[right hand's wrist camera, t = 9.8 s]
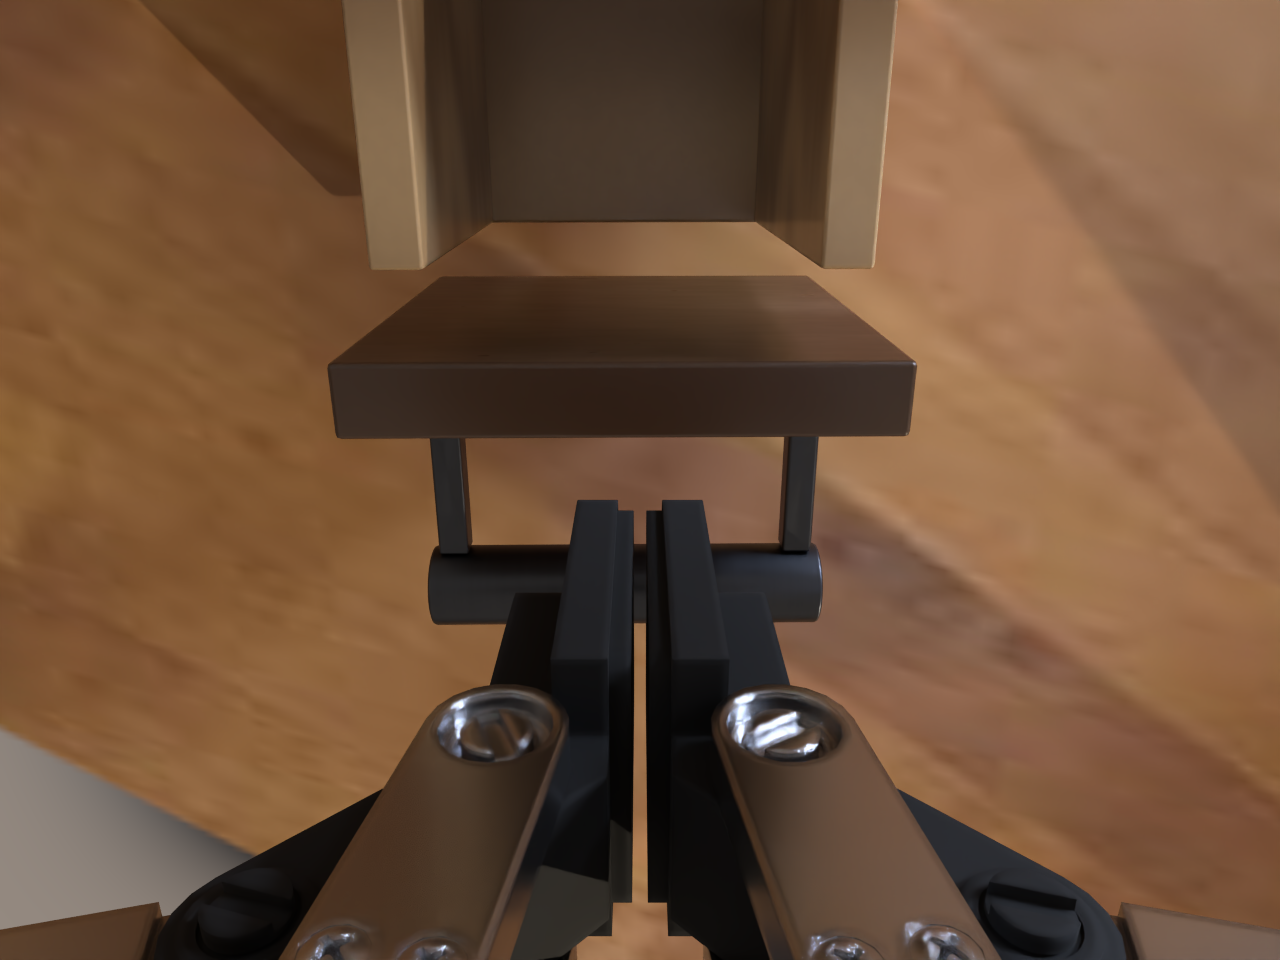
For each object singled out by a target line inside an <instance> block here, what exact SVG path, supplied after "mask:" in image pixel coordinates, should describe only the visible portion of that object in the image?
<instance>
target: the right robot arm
mask: <svg viewBox="0 0 1280 960" xmlns="http://www.w3.org/2000/svg"><path fill="white" fill-rule="evenodd" d="M633 758H634V511H618V500H578V501H577V505H576V511H575V517H574V523H573V529H572V535H571V541H570V547H569V553H568V559H567V564H566V570H565V576H564V582H563V588H562V593H515V595H514V598H513V601H512V605H511V609H510V613H509V616H508V620H507V624H506V627H505V631H504V635H503V638H502V642H501V646H500V649H499V653H498V657H497V661H496V664H495V668H494V672H493V675H492V679H491V683H490V685H489V686H483V687H478V688H473V689H470V690H467V691H465V692H462V693H459V694H457V695H454V696H452V697H451V698H449V699H448V700H446V701H445V702H443V703H441V704H440V705H438V706H437V707H436V708H435V709H434V710H433V712H432V713H431V714H430V715H429V716H428V717H427V718H426V720H425V721H424V723H423V725H422V726H421V728H420V730H419V731H418V733H417V735H416V736H415V738H414V739H413V741H412V743H411V744H410V746H409V748H408V749H407V751H406V752H405V754H404V756H403V757H402V759H401V761H400V762H399V764H398V766H397V767H396V769H395V770H394V772H393V774H392V775H391V777H390V779H389V780H388V782H387V783H386V785H385V787H384V788H383V789H381V790H379V791H377V792H376V793H374V794H372V795H370V796H368V797H366V798H364V799H362V800H361V801H359V802H357V803H355V804H353V805H351V806H349V807H347V808H346V809H344V810H342V811H340V812H338V813H336V814H334V815H332V816H331V817H329V818H327V819H325V820H323V821H321V822H319V823H317V824H316V825H314V826H312V827H310V828H308V829H306V830H304V831H302V832H301V833H299V834H297V835H295V836H293V837H291V838H289V839H287V840H286V841H284V842H282V843H280V844H278V845H276V846H274V847H272V848H271V849H269V850H267V851H265V852H263V853H261V854H259V855H257V856H256V857H254V858H252V859H250V860H248V861H246V862H244V863H242V864H241V865H239V866H237V867H235V868H233V869H231V870H229V871H227V872H226V873H224V874H222V875H220V876H218V877H216V878H215V879H213V880H212V881H210V882H209V883H207V884H206V885H204V886H202V887H201V888H199V889H198V890H196V891H195V892H194V893H192V894H191V895H190V896H189V897H188V898H187V899H186V900H185V901H184V902H183V903H182V904H181V905H180V906H179V907H178V908H177V909H176V910H175V911H174V912H173V913H172V914H171V915H168V916H162V914H161V910H160V905H159V902H156V903H151V904H145V905H139V906H133V907H128V908H122V909H117V910H111V911H105V912H99V913H93V914H88V915H82V916H76V917H71V918H65V919H59V920H53V921H48V922H42V923H36V924H31V925H25V926H19V927H13V928H8V929H2V930H0V960H577V944H578V943H580V942H581V941H582V940H583V939H585V938H586V937H587V936H612V915H613V903H632V854H633ZM646 758H647V854H648V903H667V915H668V936H693V937H694V938H695V939H697V940H698V941H699V942H700V943H702V944H703V960H1280V930H1278V929H1272V928H1267V927H1261V926H1255V925H1249V924H1244V923H1238V922H1232V921H1227V920H1221V919H1215V918H1209V917H1204V916H1198V915H1192V914H1187V913H1181V912H1175V911H1169V910H1164V909H1158V908H1152V907H1147V906H1141V905H1135V904H1129V903H1124V902H1121V905H1120V910H1119V914H1118V916H1112V915H1109V914H1108V913H1107V912H1106V911H1105V910H1104V909H1103V908H1102V907H1101V906H1100V905H1099V904H1098V903H1097V902H1096V901H1095V900H1094V899H1093V898H1092V897H1091V896H1090V895H1089V894H1088V893H1087V892H1085V891H1084V890H1082V889H1081V888H1079V887H1078V886H1076V885H1074V884H1073V883H1071V882H1070V881H1068V880H1067V879H1065V878H1064V877H1062V876H1060V875H1058V874H1056V873H1054V872H1053V871H1051V870H1049V869H1047V868H1045V867H1043V866H1041V865H1039V864H1038V863H1036V862H1034V861H1032V860H1030V859H1028V858H1026V857H1024V856H1023V855H1021V854H1019V853H1017V852H1015V851H1013V850H1011V849H1009V848H1008V847H1006V846H1004V845H1002V844H1000V843H998V842H996V841H994V840H993V839H991V838H989V837H987V836H985V835H983V834H981V833H979V832H978V831H976V830H974V829H972V828H970V827H968V826H966V825H964V824H963V823H961V822H959V821H957V820H955V819H953V818H951V817H949V816H948V815H946V814H944V813H942V812H940V811H938V810H936V809H934V808H933V807H931V806H929V805H927V804H925V803H923V802H921V801H919V800H918V799H916V798H914V797H912V796H910V795H908V794H906V793H904V792H903V791H901V790H899V789H897V788H896V787H895V785H894V783H893V782H892V780H891V779H890V777H889V775H888V774H887V772H886V770H885V769H884V767H883V766H882V764H881V762H880V761H879V759H878V757H877V756H876V754H875V752H874V751H873V749H872V748H871V746H870V744H869V743H868V741H867V739H866V738H865V736H864V735H863V733H862V731H861V730H860V728H859V726H858V725H857V723H856V721H855V720H854V718H853V717H852V716H851V715H850V714H849V713H848V712H847V711H846V709H845V708H844V707H843V706H842V705H840V704H839V703H837V702H835V701H834V700H832V699H831V698H829V697H828V696H826V695H823V694H821V693H818V692H815V691H813V690H810V689H807V688H802V687H797V686H791V685H790V683H789V679H788V675H787V672H786V668H785V664H784V661H783V657H782V653H781V649H780V646H779V642H778V638H777V635H776V631H775V627H774V624H773V620H772V616H771V613H770V609H769V605H768V601H767V598H766V595H765V593H718V588H717V582H716V576H715V570H714V564H713V559H712V553H711V547H710V541H709V535H708V529H707V523H706V517H705V511H704V505H703V501H702V500H662V511H646Z"/></svg>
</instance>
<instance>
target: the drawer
mask: <svg viewBox="0 0 1280 960" xmlns="http://www.w3.org/2000/svg"><path fill="white" fill-rule="evenodd" d="M341 3H342V12H343V22H344V31H345V41H346V50H347V60H348V69H349V79H350V89H351V98H352V108H353V117H354V127H355V136H356V146H357V155H358V165H359V175H360V184H361V194H362V203H363V213H364V222H365V232H366V242H367V251H368V261H369V267H370V269H372V270H421V269H423V268H425V267H426V266H428V265H429V264H431V263H432V262H434V261H435V260H437V259H438V258H440V257H441V256H443V255H444V254H446V253H447V252H449V251H450V250H452V249H453V248H455V247H456V246H458V245H459V244H461V243H462V242H464V241H465V240H467V239H468V238H470V237H471V236H473V235H474V234H476V233H477V232H479V231H480V230H482V229H483V228H485V227H486V226H488V225H489V224H491V223H492V222H757V223H758V224H759V225H761V226H762V227H764V228H765V229H767V230H768V231H770V232H771V233H772V234H774V235H775V236H777V237H778V238H780V239H781V240H782V241H784V242H785V243H787V244H788V245H790V246H791V247H793V248H794V249H795V250H797V251H798V252H800V253H801V254H803V255H804V256H805V257H807V258H808V259H810V260H811V261H813V262H814V263H816V264H817V265H818V266H820V267H821V268H824V269H870V268H873V266H874V264H875V253H876V242H877V231H878V219H879V208H880V197H881V186H882V175H883V164H884V152H885V141H886V130H887V119H888V108H889V97H890V85H891V74H892V63H893V52H894V41H895V30H896V18H897V7H898V0H341ZM327 369H328V377H329V385H330V393H331V401H332V409H333V417H334V425H335V433H336V436H337V438H341V439H412V438H430V446H431V457H432V469H433V480H434V492H435V503H436V515H437V526H438V538H439V546H436V547H435V548H434V550H433V553H432V556H431V560H430V565H429V573H428V603H429V610H430V615H431V618H432V621H433V622H434V623H435V624H437V625H469V624H507V620H508V616H509V613H510V609H511V605H512V601H513V598H514V595H515V593H562V588H563V582H564V576H565V570H566V564H567V559H568V553H569V547H570V545H471V544H472V542H473V541H472V527H471V513H470V499H469V486H468V472H467V458H466V444H465V438H622V437H784V452H783V469H782V486H781V503H780V520H779V537H778V540H779V542H780V543H735V544H710V547H711V553H712V559H713V564H714V570H715V576H716V582H717V588H718V593H765V595H766V598H767V601H768V605H769V609H770V613H771V616H772V620H773V622H815V621H817V620H818V618H819V615H820V612H821V606H822V595H823V579H822V567H821V560H820V556H819V552H818V549H817V547H816V545H815V544H813V543H811V534H812V520H813V506H814V493H815V479H816V465H817V452H818V438H819V437H832V436H906V435H908V434H909V432H910V425H911V416H912V407H913V398H914V389H915V380H916V371H917V365H916V362H915V361H914V360H913V359H911V358H910V357H909V356H908V355H906V354H905V353H904V352H903V351H901V350H900V349H899V348H897V347H896V346H895V345H894V344H892V343H891V342H890V341H889V340H887V339H886V338H885V337H884V336H882V335H881V334H880V333H879V332H877V331H876V330H875V329H874V328H872V327H871V326H870V325H869V324H867V323H866V322H865V321H864V320H862V319H861V318H860V317H858V316H857V315H856V314H855V313H853V312H852V311H851V310H850V309H848V308H847V307H846V306H845V305H843V304H842V303H841V302H840V301H838V300H837V299H836V298H835V297H833V296H832V295H831V294H830V293H828V292H827V291H826V290H825V289H823V288H822V287H821V286H820V285H818V284H817V283H816V282H814V281H813V280H812V279H811V278H809V277H808V276H518V277H440V278H439V279H437V280H436V281H435V282H434V283H432V284H431V285H430V286H428V287H427V288H426V289H425V290H423V291H422V292H421V293H419V294H418V295H417V296H416V297H414V298H413V299H412V300H410V301H409V302H408V303H407V304H405V305H404V306H403V307H401V308H400V309H399V310H398V311H396V312H395V313H394V314H392V315H391V316H390V317H389V318H387V319H386V320H385V321H383V322H382V323H381V324H380V325H378V326H377V327H376V328H375V329H373V330H372V331H371V332H369V333H368V334H367V335H366V336H364V337H363V338H362V339H360V340H359V341H358V342H357V343H355V344H354V345H353V346H351V347H350V348H349V349H348V350H346V351H345V352H344V353H342V354H341V355H340V356H339V357H337V358H336V359H335V360H333V361H332V362H331V363H330V364H329V365H328V368H327ZM634 623H646V544H634Z"/></svg>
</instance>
